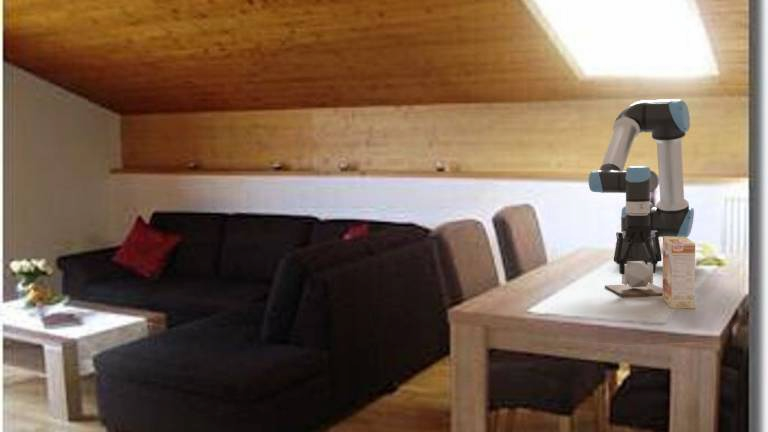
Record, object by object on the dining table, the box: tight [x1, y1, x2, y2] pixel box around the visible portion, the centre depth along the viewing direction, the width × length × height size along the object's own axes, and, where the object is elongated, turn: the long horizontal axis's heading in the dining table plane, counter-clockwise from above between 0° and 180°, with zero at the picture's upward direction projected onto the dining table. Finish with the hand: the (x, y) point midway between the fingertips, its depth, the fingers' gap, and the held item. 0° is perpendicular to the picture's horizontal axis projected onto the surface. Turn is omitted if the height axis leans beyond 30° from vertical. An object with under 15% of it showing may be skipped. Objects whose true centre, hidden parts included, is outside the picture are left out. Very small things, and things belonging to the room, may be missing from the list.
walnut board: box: [604, 283, 663, 298], centre depth 263 cm, size 16×16×1 cm
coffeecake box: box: [661, 236, 696, 309], centre depth 244 cm, size 15×7×20 cm, turn 170°
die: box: [626, 261, 654, 287], centre depth 262 cm, size 8×9×10 cm
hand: (637, 283), depth 263 cm, fingers closed on die, 8 cm apart
